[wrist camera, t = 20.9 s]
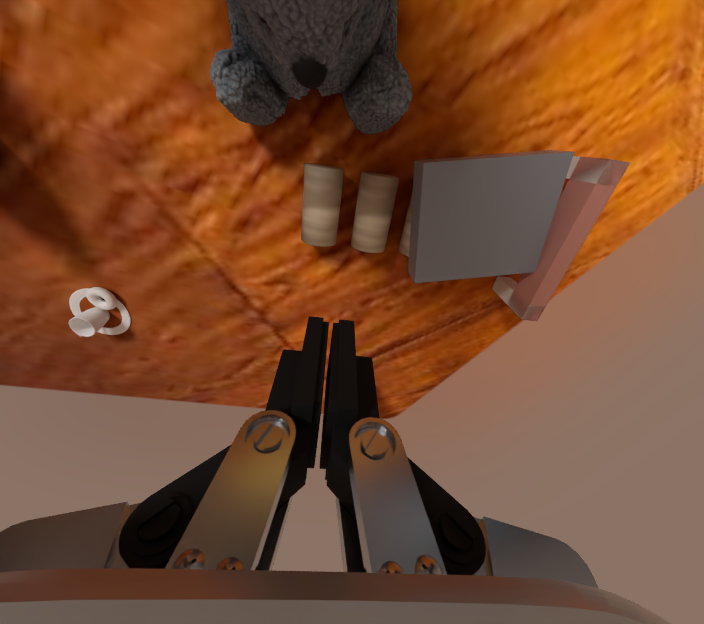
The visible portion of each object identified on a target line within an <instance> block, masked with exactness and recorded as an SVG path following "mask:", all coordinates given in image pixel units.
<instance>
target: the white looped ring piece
mask: <svg viewBox="0 0 704 624" xmlns="http://www.w3.org/2000/svg"><path fill="white" fill-rule="evenodd" d="M84 297H87V299H88V300H89V301H90V302H91V303H92V304H93V305H95V306H96V307H94V308H91V309H88V310H86V311H84V312H81V310H80V307H79V303H80V301H81V299H82V298H84ZM100 297H102V298H103V299H104V300H105V301H104V300H102V299H101V298H100ZM69 304H70V308H71V311H72V313H73V314H74V316H75V317H73V318H72V319H70V321H69V326H70V328H71V329H72V330H73V331H74V332H75V333H77V335H78V336H81V337H82V336H85V337H89V336H92V335H94V334H95V333H96V332H99V333H102V334H107V335H117V334H121V333H123V332H125V331H126V330H128V328H129V327H130V323H131V319H130V315H129V313H128V311H127V309H126V308H125V306H124V305H123V304H122V303H121V302H120V301H119V300H117V299H116V297H115V296H114V295H113V294H112V293H111V292H110V291H108V290H106V289H104V288H101V287H93V288H90V289H80V290H77V291H75V292H74V293H73V294H72V295H71V297H70V300H69ZM115 307H117V308H118V309H119V311H120V312H121V315H122V322H121V324H120V325H119V326H117V327H114V328H105V327H103V326H104V325H105V324H106V323H107V321H108V320H109V318H110V314H109V312H108V311H107V310H111V309H114V308H115Z"/></svg>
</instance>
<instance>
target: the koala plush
mask: <svg viewBox="0 0 704 624" xmlns="http://www.w3.org/2000/svg"><path fill="white" fill-rule="evenodd" d="M226 2H227V4H228V5H227V8H228V13H229V23H230V26H231V29H230V31H231V35H232V36H231V41H232V47H231V49H230V50H226V49H222V50H221V51H219V52H216V53H215V58H214V61H213V63H212V64H211V70H210V74H211V80H212V81H213V84H214V86H215V87H216V96H217V98H218V100H219V101H220V102H221V103H222V104H223V106H225V107H226V109H228V110H229V111H230V113H232V114H233V115H234V117H236V118H237V119H238V120H240V121H242V122H243V121H244V122H245V123H250V124H253V125H260V126H264V125H266V126H267V125H269V124H271V123H274V121H276V118H278V117H281V116H282V114H285V110H286V108H287V103H288V102H289V97H294V98H295V99H298V100H301V96H306V95H307V94H308V91H309V89H315V88H317V89H318V90H319V93H320V94H321V96H325V95H328V96H329V95H330V94H336V93H341V92H342V96H343V99H344V103H345V108H346V109H347V111H348V114H349V116H350V119H352V121H353V122H355V127H356V128H358V130H359V131H361V132H363V133H364V134H374V133H375V134H377V133H380V132H383V131H386V130H387V129H388V128H390V127H391V126H393V125H394V123H396V122H398V121H399V120H400V118H401V116H403V115H404V114H405V112H407V110H408V108H409V103H410V102H411V99H412V95H413V93H412V91H411V89H412V86H411V82H410V81H409V76H408V73H407V71H406V70H404V67H403V65H402V64H401V62H400V61H399V60H397V55H396V53H397V38H396V37H397V10H398V3H397V0H226Z"/></svg>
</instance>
